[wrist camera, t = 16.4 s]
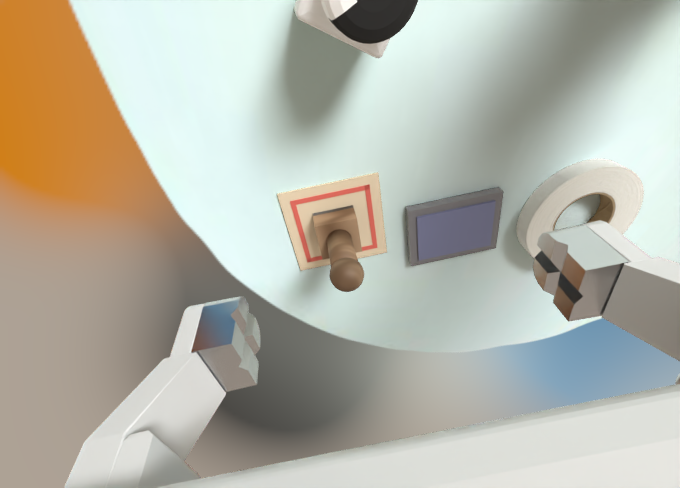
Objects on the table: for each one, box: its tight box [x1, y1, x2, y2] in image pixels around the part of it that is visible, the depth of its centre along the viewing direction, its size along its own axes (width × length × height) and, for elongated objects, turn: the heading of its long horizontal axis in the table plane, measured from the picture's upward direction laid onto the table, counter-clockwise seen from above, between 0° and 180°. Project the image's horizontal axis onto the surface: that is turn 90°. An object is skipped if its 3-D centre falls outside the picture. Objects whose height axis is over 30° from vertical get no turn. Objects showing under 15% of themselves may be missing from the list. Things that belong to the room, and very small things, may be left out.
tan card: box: [277, 172, 387, 271], centre depth 45 cm, size 12×12×1 cm
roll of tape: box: [516, 159, 644, 258], centre depth 48 cm, size 16×15×3 cm
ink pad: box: [406, 187, 503, 266], centre depth 47 cm, size 12×9×2 cm
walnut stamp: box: [313, 205, 364, 292], centre depth 40 cm, size 5×5×11 cm
